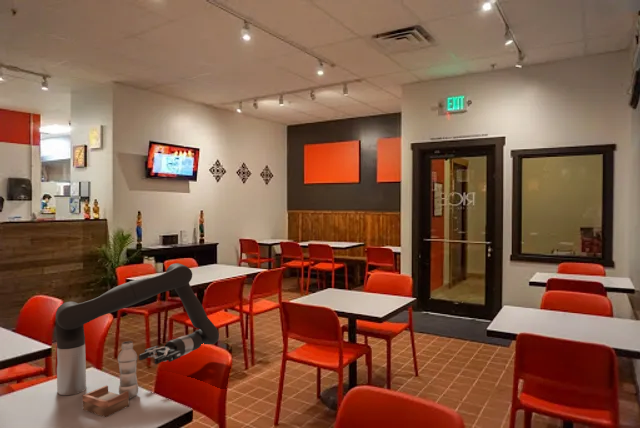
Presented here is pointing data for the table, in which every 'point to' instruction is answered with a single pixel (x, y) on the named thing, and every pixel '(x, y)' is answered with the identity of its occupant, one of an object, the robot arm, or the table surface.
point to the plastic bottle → (128, 369)
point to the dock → (105, 401)
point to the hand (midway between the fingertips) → (147, 359)
